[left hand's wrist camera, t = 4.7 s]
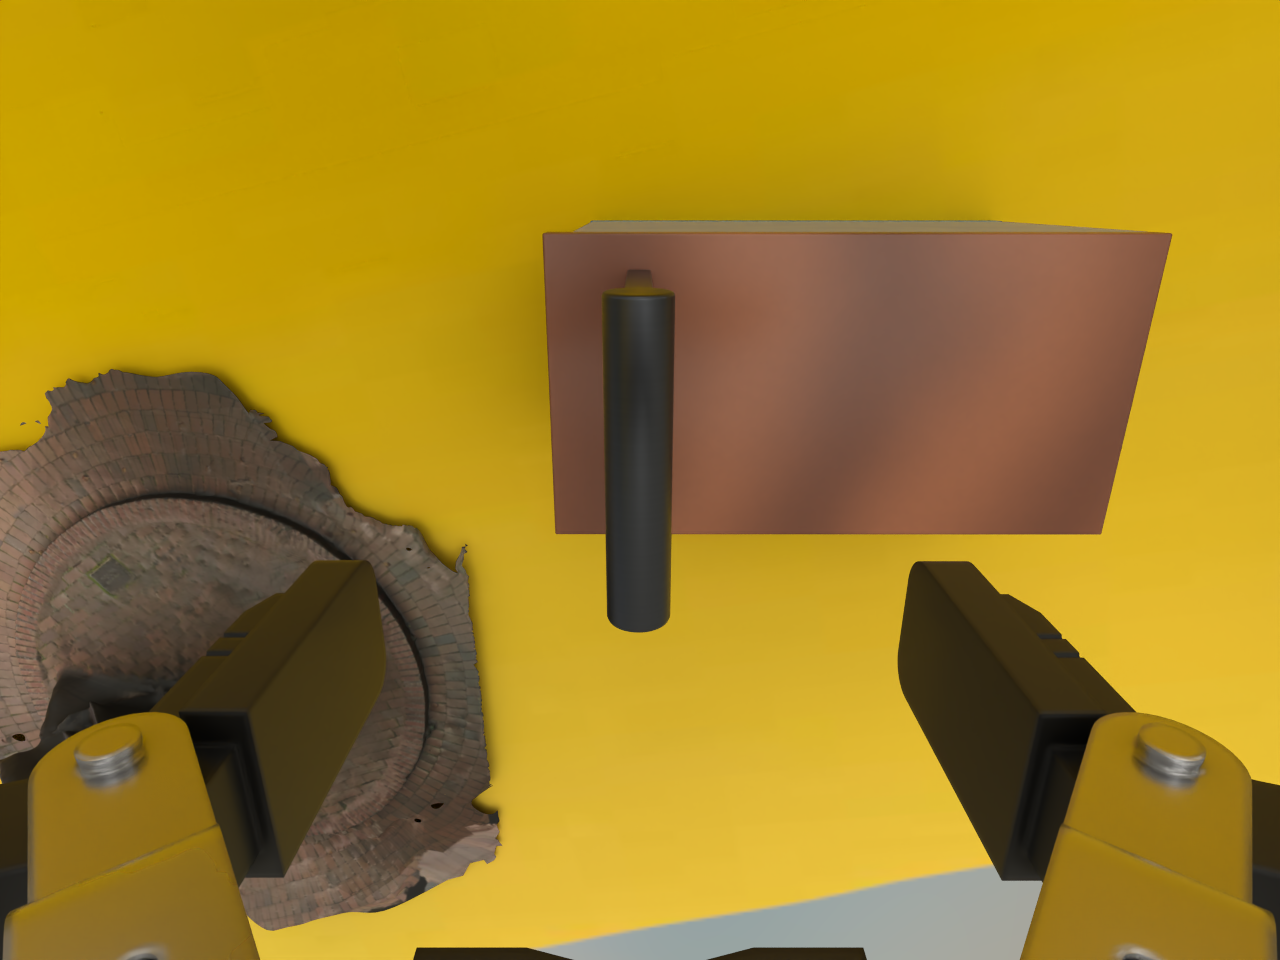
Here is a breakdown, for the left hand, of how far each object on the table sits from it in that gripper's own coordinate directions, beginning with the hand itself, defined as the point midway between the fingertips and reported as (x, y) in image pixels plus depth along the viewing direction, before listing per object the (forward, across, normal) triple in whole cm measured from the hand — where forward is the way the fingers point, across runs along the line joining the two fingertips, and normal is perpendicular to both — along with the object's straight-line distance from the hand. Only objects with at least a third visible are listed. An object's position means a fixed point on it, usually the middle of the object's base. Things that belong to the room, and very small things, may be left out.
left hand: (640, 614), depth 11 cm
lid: (+14, -6, 0) cm, 15 cm away
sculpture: (+25, +22, +19) cm, 39 cm away
